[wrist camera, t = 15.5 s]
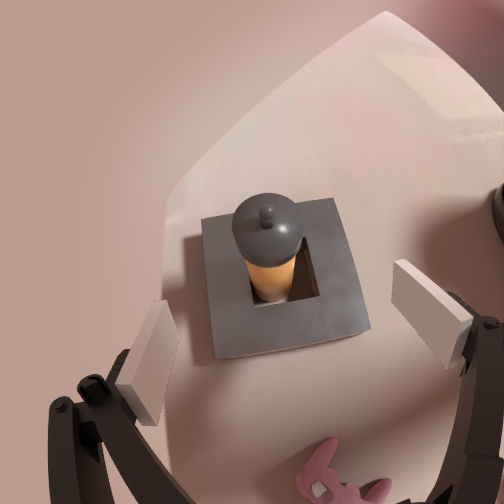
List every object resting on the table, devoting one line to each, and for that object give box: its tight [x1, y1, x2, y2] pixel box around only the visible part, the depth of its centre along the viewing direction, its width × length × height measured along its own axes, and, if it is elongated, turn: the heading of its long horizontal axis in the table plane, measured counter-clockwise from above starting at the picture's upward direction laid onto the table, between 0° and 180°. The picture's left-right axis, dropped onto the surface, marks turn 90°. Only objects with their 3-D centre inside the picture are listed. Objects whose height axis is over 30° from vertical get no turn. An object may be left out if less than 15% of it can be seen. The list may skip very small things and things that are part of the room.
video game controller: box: [295, 437, 392, 504], centre depth 18 cm, size 10×5×7 cm, turn 44°
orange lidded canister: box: [232, 193, 304, 302], centre depth 23 cm, size 5×5×14 cm
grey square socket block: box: [201, 198, 371, 360], centre depth 28 cm, size 14×14×3 cm
